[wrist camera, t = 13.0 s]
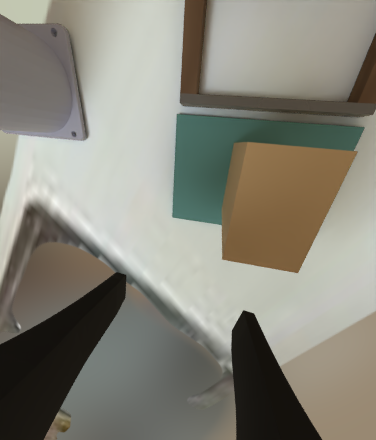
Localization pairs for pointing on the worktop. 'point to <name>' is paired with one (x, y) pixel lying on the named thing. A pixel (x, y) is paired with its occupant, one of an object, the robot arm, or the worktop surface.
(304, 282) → the worktop surface
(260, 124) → the mat
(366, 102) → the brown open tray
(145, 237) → the worktop surface
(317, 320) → the worktop surface
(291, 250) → the block
